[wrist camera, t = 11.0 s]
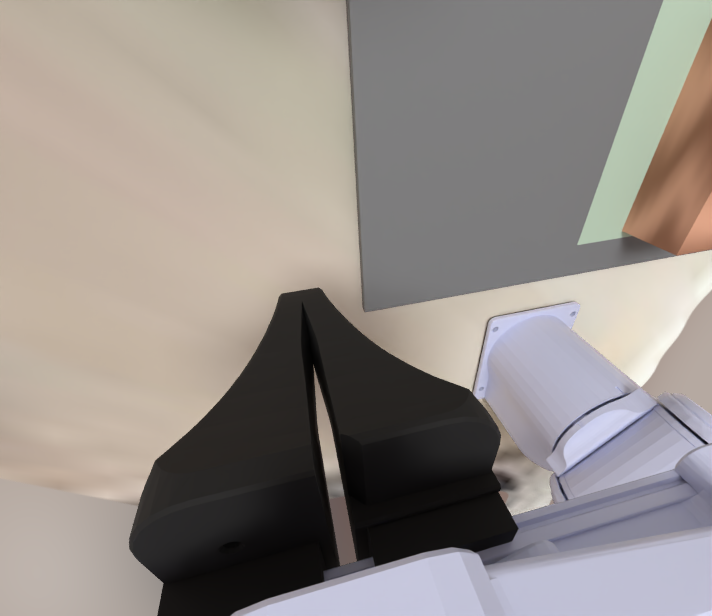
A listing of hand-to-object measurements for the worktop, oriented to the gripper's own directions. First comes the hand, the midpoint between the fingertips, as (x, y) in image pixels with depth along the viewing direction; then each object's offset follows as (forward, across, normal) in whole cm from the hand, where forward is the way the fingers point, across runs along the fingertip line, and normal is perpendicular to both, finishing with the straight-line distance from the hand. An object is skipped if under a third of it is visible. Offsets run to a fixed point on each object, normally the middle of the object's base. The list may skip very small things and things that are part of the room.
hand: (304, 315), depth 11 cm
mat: (+9, -19, -2) cm, 21 cm away
